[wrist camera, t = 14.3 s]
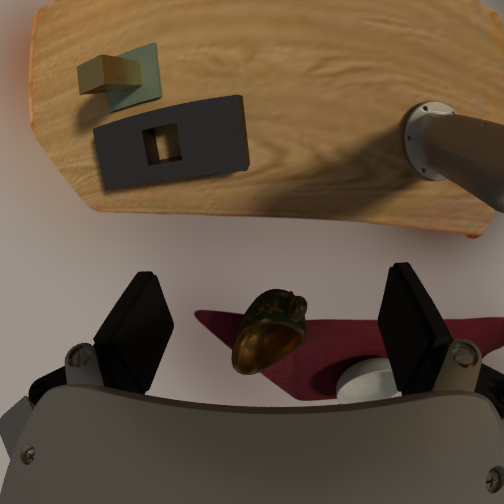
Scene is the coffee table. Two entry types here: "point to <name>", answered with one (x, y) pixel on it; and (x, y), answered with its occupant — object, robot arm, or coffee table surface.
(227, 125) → the dark square-hole plate
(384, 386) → the cereal bowl
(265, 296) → the cup
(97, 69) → the brass plug
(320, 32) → the coffee table surface
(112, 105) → the green mat
